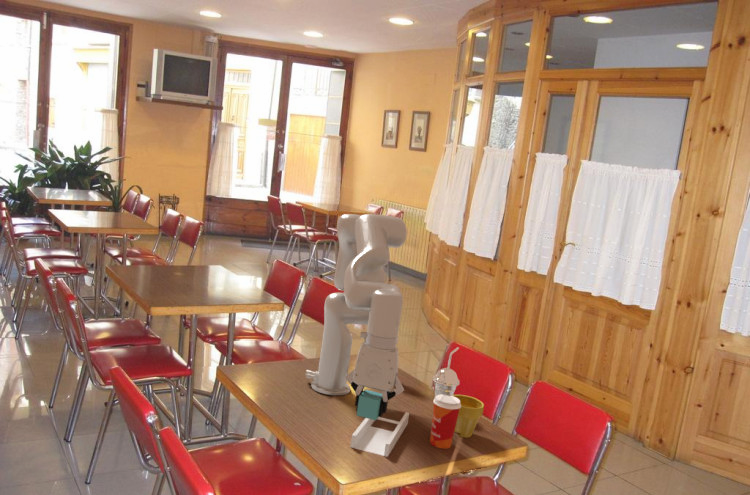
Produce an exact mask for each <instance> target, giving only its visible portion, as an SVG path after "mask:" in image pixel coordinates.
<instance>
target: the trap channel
mask: <svg viewBox="0 0 750 495" xmlns="http://www.w3.org/2000/svg"><path fill="white" fill-rule="evenodd" d="M409 416H410V412H407V411H406V412H404V414H403V415H402V418H401V419H400V421H397V420H394V419H391V418H390V419H389V418H386V417H383V416H381V417H378V419H377V420H378V421H383V422H387V423H389V424H390V423H391V424H395V425H396V427H395V429H394V430H393V431H392V430H387V429H383V428H380V427H374V426H372V425H373V424H374V422H375V421H376V420H372V419H368V418H364V419H363V420H362V422H361V423H360V425H358V427H357V428H356V430H354V432H353V433H352V435H351V438H350V439H351V440H350V446H349V447H350V448H352V449H356V450H359V451H363V452H367V453H371V454H375V455H379V456H381V457H382V456H383V457H385V458H388V457H389V455H391V452H392V451H393V449H394V447H395V446H396V444H397V442H398V441H399V439H400V437H401V435H402V434H403V432H404V431H405V429H406V427H407V426H408V423H409Z"/></svg>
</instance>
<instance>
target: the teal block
mask: <svg viewBox="0 0 750 495" xmlns="http://www.w3.org/2000/svg"><path fill="white" fill-rule="evenodd" d="M382 398H383V397H382V392H378V391H373V390H369V389H363V392H362V394H361V395H360V396H359V402H358V409H357V411H356V416H357V417H362V418H364V419H365V418H368V419H372V420H375V421H377V420H378V417H379V416H378V415H379V408H380V402H381V400H382Z"/></svg>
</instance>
